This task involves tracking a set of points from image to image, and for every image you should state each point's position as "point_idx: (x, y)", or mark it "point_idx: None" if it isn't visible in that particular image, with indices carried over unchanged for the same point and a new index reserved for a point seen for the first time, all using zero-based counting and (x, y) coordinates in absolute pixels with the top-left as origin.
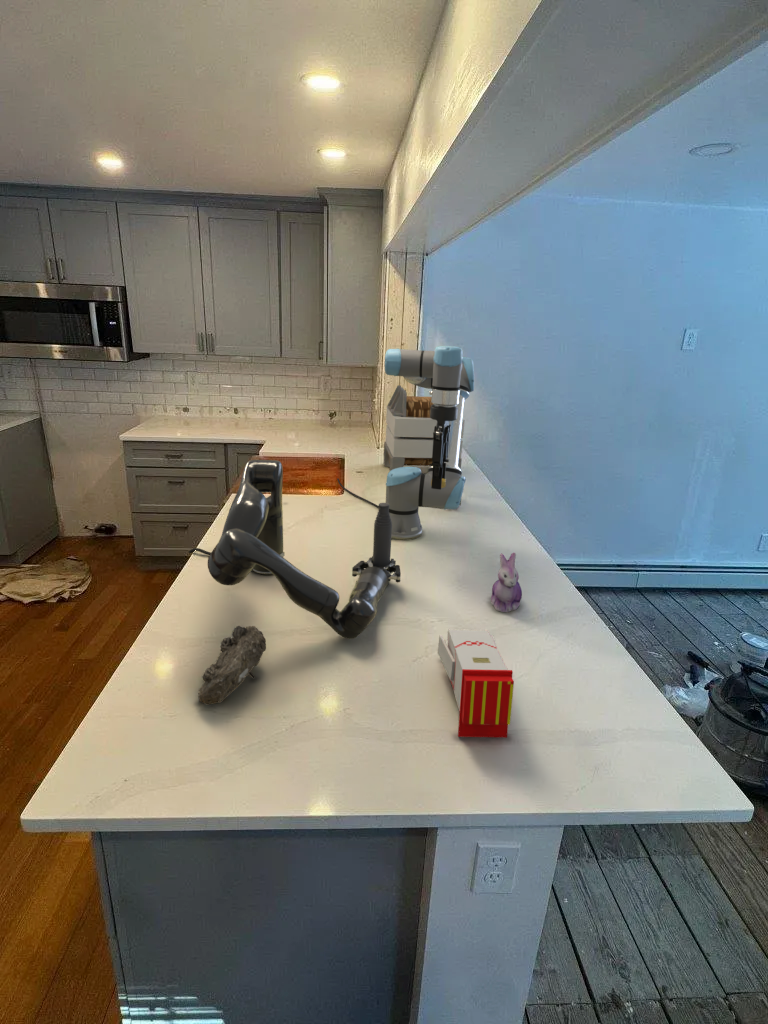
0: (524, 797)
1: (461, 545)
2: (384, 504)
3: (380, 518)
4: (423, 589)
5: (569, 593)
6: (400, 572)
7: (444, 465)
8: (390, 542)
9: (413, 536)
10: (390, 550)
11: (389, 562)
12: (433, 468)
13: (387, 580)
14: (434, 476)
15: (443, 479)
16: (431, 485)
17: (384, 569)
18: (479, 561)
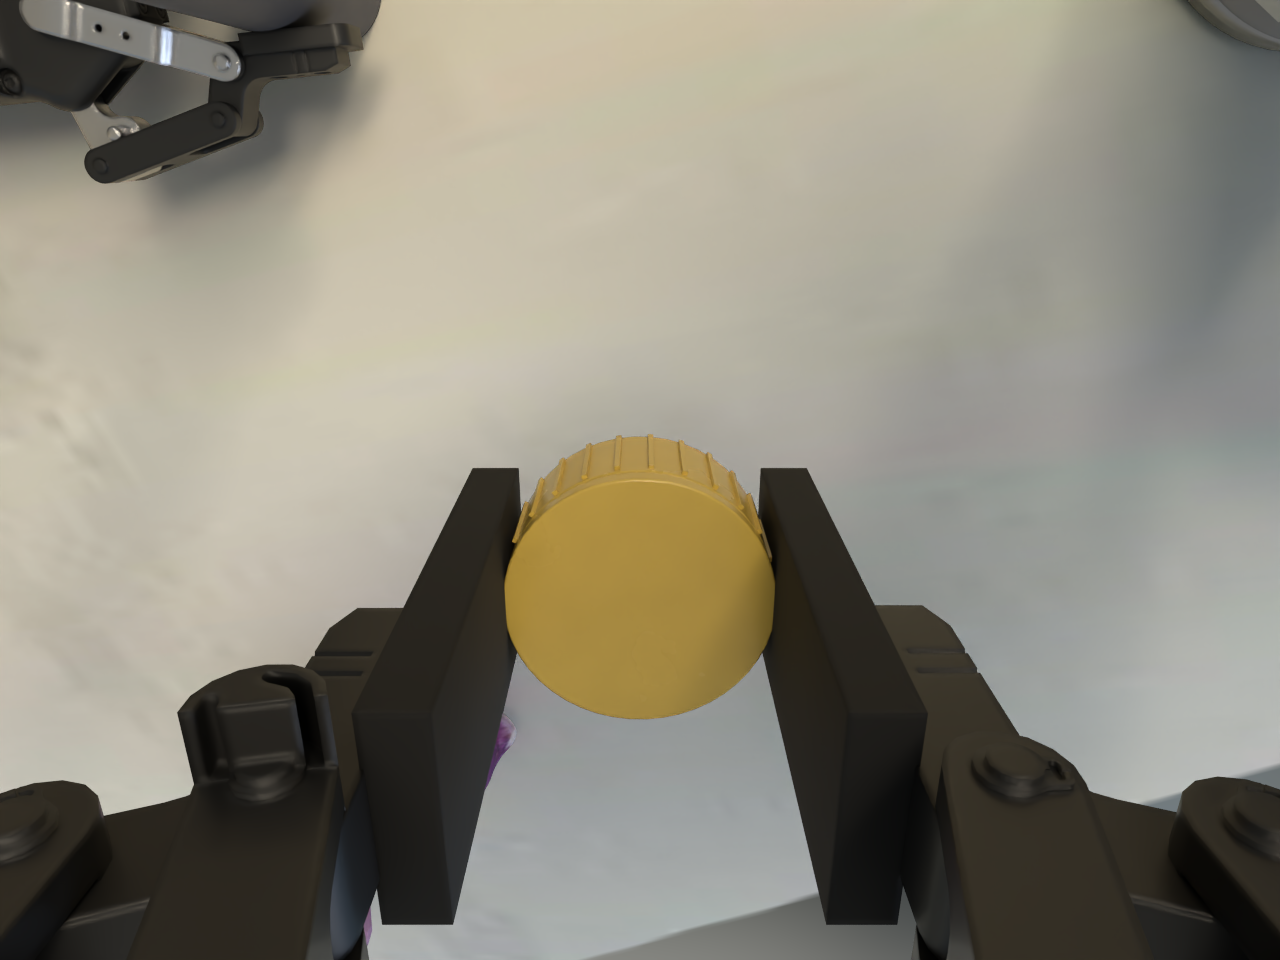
0: None
1: (1140, 395)
2: None
3: None
4: (375, 293)
5: (655, 934)
6: (122, 176)
7: (821, 855)
8: (161, 6)
9: (1205, 1)
10: (216, 18)
11: (253, 30)
12: (375, 689)
13: (13, 103)
14: (331, 643)
15: (685, 678)
16: (580, 453)
17: (71, 39)
18: (897, 538)
